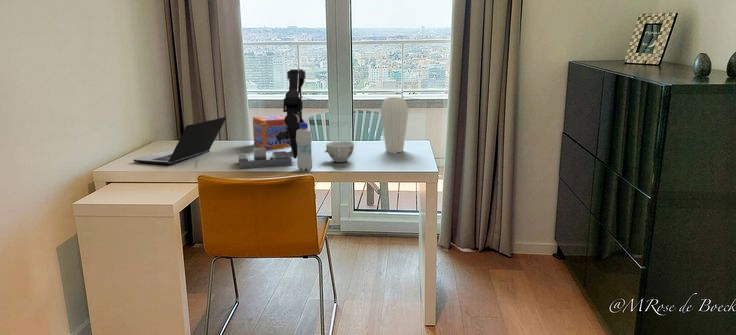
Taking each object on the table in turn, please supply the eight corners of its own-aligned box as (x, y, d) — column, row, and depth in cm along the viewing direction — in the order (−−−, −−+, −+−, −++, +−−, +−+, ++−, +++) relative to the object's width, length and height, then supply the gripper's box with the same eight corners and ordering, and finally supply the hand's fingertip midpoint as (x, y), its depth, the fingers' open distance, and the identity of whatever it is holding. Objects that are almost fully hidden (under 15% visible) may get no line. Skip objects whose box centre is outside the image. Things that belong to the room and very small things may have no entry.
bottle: (307, 167, 231) (305, 121, 226) (316, 169, 225) (314, 122, 221) (293, 169, 227) (292, 122, 222) (302, 172, 221) (300, 124, 217)
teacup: (327, 158, 250) (327, 141, 248) (354, 158, 249) (354, 141, 248) (324, 165, 235) (324, 147, 233) (353, 164, 235) (352, 146, 233)
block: (265, 162, 241) (264, 147, 240) (266, 164, 237) (265, 149, 235) (254, 163, 240) (253, 148, 238) (255, 165, 236) (254, 149, 234)
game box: (253, 146, 280) (252, 117, 277) (282, 144, 288) (280, 115, 285) (263, 151, 267) (262, 120, 264) (293, 148, 275) (291, 118, 271)
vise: (289, 158, 248) (289, 150, 247) (294, 165, 235) (293, 156, 234) (238, 162, 242) (238, 153, 241) (240, 168, 229) (239, 159, 228)
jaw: (285, 159, 247) (285, 151, 246) (289, 164, 236) (288, 155, 236) (272, 160, 245) (272, 151, 244) (275, 165, 235) (274, 156, 234)
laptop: (176, 150, 273) (173, 114, 269) (229, 154, 263) (227, 116, 259) (132, 162, 246) (128, 122, 242) (190, 166, 235) (186, 124, 231)
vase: (399, 149, 270) (400, 96, 264) (413, 153, 258) (413, 98, 253) (376, 151, 264) (375, 97, 259) (388, 156, 253) (388, 100, 247)
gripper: (273, 122, 245) (274, 155, 249) (278, 127, 228) (279, 163, 231) (297, 120, 248) (298, 154, 252) (304, 126, 231) (305, 161, 234)
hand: (295, 158), depth 242 cm, fingers closed
